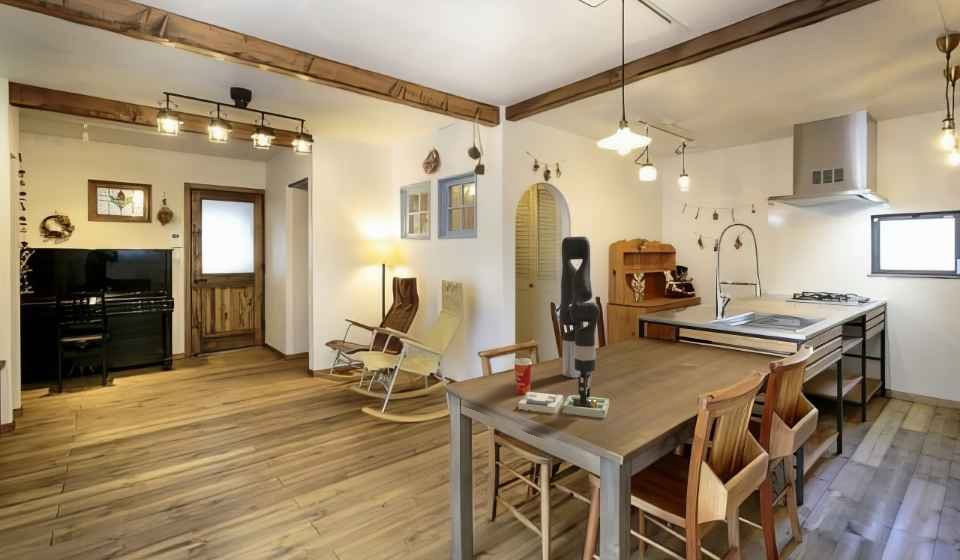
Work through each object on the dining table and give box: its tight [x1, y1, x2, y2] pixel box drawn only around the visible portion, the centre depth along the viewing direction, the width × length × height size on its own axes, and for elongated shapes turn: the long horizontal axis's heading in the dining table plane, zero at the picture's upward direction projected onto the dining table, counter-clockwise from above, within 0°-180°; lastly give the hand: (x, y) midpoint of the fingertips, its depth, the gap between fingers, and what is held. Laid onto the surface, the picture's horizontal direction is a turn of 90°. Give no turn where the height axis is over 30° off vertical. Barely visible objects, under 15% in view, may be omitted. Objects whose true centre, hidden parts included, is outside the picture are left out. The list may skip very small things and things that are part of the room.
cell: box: [573, 398, 598, 409], centre depth 167 cm, size 3×9×3 cm, turn 68°
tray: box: [562, 394, 610, 419], centre depth 170 cm, size 14×15×3 cm
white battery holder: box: [518, 391, 564, 414], centre depth 175 cm, size 14×14×4 cm
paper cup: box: [513, 357, 533, 395], centre depth 191 cm, size 8×8×14 cm
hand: (585, 400), depth 167 cm, fingers open, 8 cm apart
